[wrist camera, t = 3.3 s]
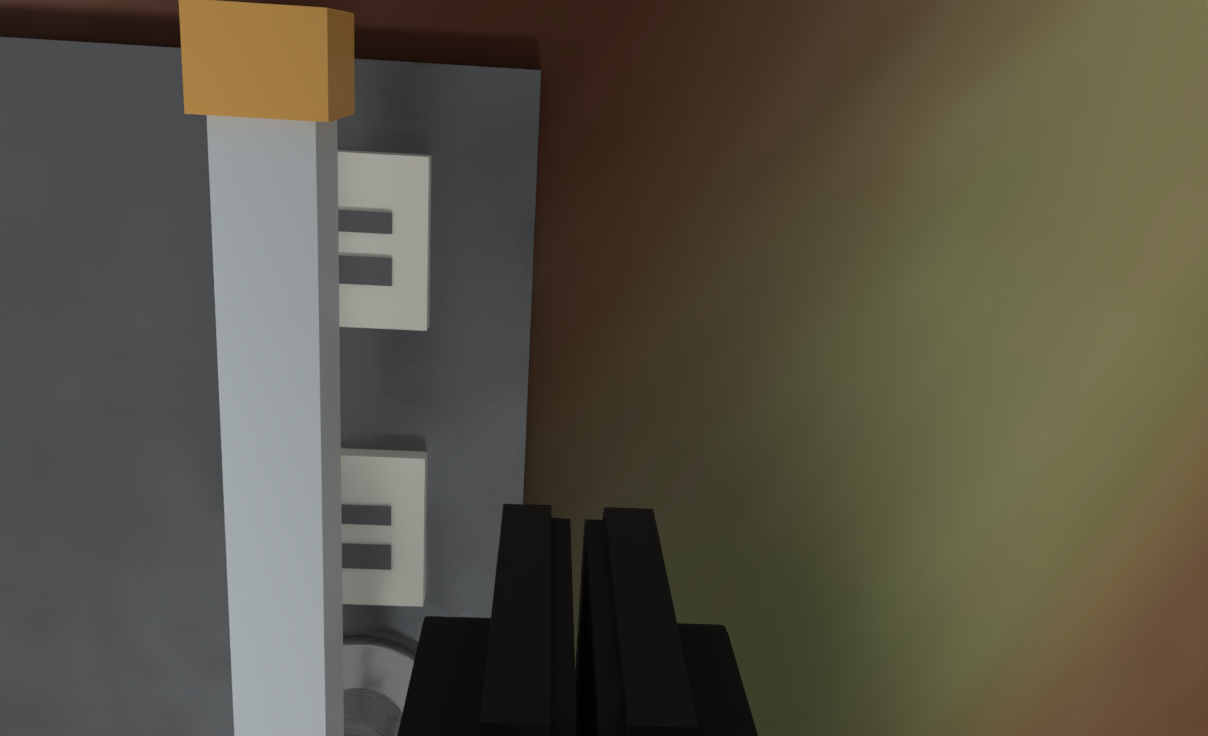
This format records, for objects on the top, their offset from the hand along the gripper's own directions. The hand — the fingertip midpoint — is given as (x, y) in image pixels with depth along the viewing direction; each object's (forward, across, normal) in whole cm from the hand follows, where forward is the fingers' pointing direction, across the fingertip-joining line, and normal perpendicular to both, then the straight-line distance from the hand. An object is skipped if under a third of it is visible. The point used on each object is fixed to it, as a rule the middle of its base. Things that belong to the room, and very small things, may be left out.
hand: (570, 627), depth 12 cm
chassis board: (+21, +11, +7) cm, 24 cm away
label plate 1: (+21, +7, 0) cm, 22 cm away
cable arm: (+13, +6, +6) cm, 15 cm away
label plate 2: (+21, +7, +9) cm, 24 cm away
